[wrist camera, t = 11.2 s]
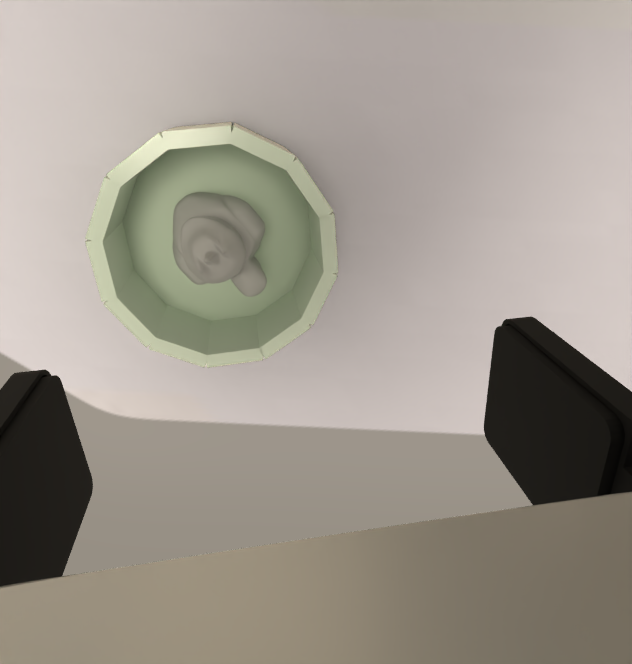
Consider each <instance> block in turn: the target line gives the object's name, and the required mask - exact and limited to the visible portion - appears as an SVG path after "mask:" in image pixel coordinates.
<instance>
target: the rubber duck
mask: <svg viewBox="0 0 632 664" xmlns="http://www.w3.org/2000/svg"><path fill="white" fill-rule="evenodd" d="M264 233H265V223H264V221H263V220H262V218H261V217H260V216H259V215H258V214H257V213H256V211H255V210H254V209H253V208H252V207H251V206H250V205H249V204H248V203H247V202H246V201H244V200H242V199H240V198H237V197H234V196H230V195H220V194H216V193H208V192H196V193H191V194H188V195H186V196H185V197H184V198H182V199H181V200H180V201H179V202H178V203H177V205H176V206H175V209H174V213H173V247H172V248H173V254H174V258H175V262H176V264H177V266H178V268H179V269H180V270H181V271H182V272H183V273H184V274H185V275H186V276H187V277H188V278H189V279H190V280H191V281H192V282H193V283H195V284H197V285H203V284H207V283H211V284H214V283H221V282H225V281H227V280H229V279H231V280H232V282H233V283H234V285H235V286H236V287H237V288H238V290H239V291H240V292H241V293H242V294H243V295H245V296H247V297H253V296H256V295H258V294H260V293H261V292H262V291H263V290H264V288H265V287H266V283H267V278H266V275H265V273H264V271H263V270H262V268H261V265H260V263H259V261H258V260H257V259H256V258H255V257H254V255H255V253H256V251H257V250H258V248H259V247H260V243H261V240H262V238H263V236H264Z"/></svg>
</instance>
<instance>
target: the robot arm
mask: <svg viewBox="0 0 632 664" xmlns="http://www.w3.org/2000/svg"><path fill="white" fill-rule="evenodd" d="M484 432H485V436H486V438H487V441H488V443H489V444H490V445H491V447H492V448H493V449H494V451H495V452H496V454H497V455H498V457H499V458H500V459H501V461H502V462H503V464H504V465H505V466H506V468H507V469H508V470H509V472H510V473H511V475H512V476H513V478H514V479H515V480H516V482H517V483H518V485H519V486H520V487H521V489H522V490H523V491H524V493H525V494H526V496H527V497H528V499H529V500H530V501H531V503H532V504H533V505H532V506H526V507H518V508H511V509H504V510H497V511H490V512H484V513H476V514H470V515H463V516H456V517H449V518H443V519H436V520H429V521H422V522H415V523H409V524H401V525H395V526H388V527H381V528H374V529H368V530H361V531H354V532H347V533H341V534H334V535H328V536H321V537H314V538H308V539H301V540H295V541H288V542H282V543H275V544H269V545H262V546H255V547H249V548H242V549H235V550H229V551H222V552H216V553H209V554H202V555H196V556H189V557H184V558H176V559H170V560H164V561H158V562H152V563H145V564H138V565H132V566H125V567H119V568H112V569H106V570H99V571H93V572H86V573H80V574H74V575H67V576H62V575H63V572H64V569H65V566H66V564H67V561H68V558H69V556H70V553H71V550H72V547H73V544H74V542H75V539H76V536H77V533H78V531H79V528H80V525H81V523H82V520H83V517H84V514H85V512H86V509H87V506H88V503H89V501H90V498H91V495H92V489H93V483H92V476H91V473H90V470H89V467H88V464H87V461H86V458H85V454H84V451H83V448H82V445H81V442H80V439H79V435H78V432H77V429H76V426H75V423H74V420H73V417H72V413H71V411H70V407H69V404H68V401H67V398H66V395H65V391H64V388H63V385H62V382H61V380H60V378H59V377H58V376H51V374H50V373H49V372H48V371H47V370H38V371H29V372H19V373H14V374H13V375H12V376H11V377H10V378H9V379H8V381H7V382H6V383H5V385H4V386H3V387H2V388H1V390H0V664H632V392H631V391H630V390H629V389H627V388H626V387H625V386H623V385H622V384H621V383H619V382H618V381H617V380H615V379H614V378H613V377H611V376H610V375H609V374H608V373H606V372H605V371H604V370H602V369H601V368H600V367H598V366H597V365H596V364H594V363H593V362H592V361H590V360H589V359H588V358H586V357H585V356H584V355H583V354H581V353H580V352H579V351H577V350H576V349H575V348H573V347H572V346H571V345H569V344H568V343H567V342H565V341H564V340H563V339H562V338H560V337H559V336H558V335H556V334H555V333H554V332H552V331H551V330H550V329H548V328H547V327H546V326H544V325H543V324H542V323H541V322H539V321H538V320H537V319H535V318H533V317H523V318H514V319H506V320H505V321H504V322H503V324H502V326H499V327H497V328H496V330H495V334H494V342H493V351H492V359H491V368H490V377H489V385H488V394H487V403H486V412H485V420H484Z"/></svg>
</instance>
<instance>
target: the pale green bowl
mask: <svg viewBox="0 0 632 664" xmlns="http://www.w3.org/2000/svg"><path fill="white" fill-rule="evenodd" d="M106 175H107V176H106V177H104V179H103V183H102V186H101V189H100V192H99V196H98V199H97V202H96V205H95V209H94V212H93V215H92V218H91V221H90V225H89V228H88V231H87V234H86V238H85V239H88V240H87V241H86V242H85V243H86V246H87V250H88V254H89V257H90V261H91V265H92V268H93V272H94V275H95V279H96V283H97V286H98V290H99V293H100V297H101V301H102V302H103V301H105V303H104V304H103V305H104V306H105V307H106V308H107V309H108V310H109V311H110V312H111V313H112V314H113V315H114V316H115V317H116V318H117V319H118V320H119V321H120V322H121V323H122V324H123V325H124V326H125V327H126V328H127V329H128V330H129V331H130V332H131V333H132V334H133V335H134V336H135V337H136V338H137V339H138V340H139V341H140V342H141V343H142V344H143V345H144V346H145V347H148V346H149V345H150V344H151V345H150V347H149V349H150V350H153V351H156V352H159V353H162V354H165V355H168V356H171V357H174V358H177V359H180V360H183V361H186V362H189V363H192V364H195V365H198V366H201V367H205V365H206V363H207V368H210V367H217V366H224V365H231V364H239V363H246V362H253V361H260V360H263V356H264V357H265V358H266V359H267V358H268V357H270V356H271V355H273V354H274V353H275V352H277V351H278V350H280V349H281V348H283V347H284V346H285V345H287V344H288V343H290V342H291V341H293V340H294V339H295V338H297V337H298V336H300V335H301V334H303V333H304V332H305V331H307V330H308V329H310V328H311V326H310V324H311V325H313V324H314V322H315V320H316V318H317V316H318V314H319V312H320V310H321V308H322V306H323V304H324V302H325V300H326V298H327V296H328V294H329V292H330V290H331V288H332V286H333V284H334V282H335V280H336V278H337V274H336V273H338V262H337V246H336V231H335V215H334V213H333V210H332V208H331V207H330V205H329V204H328V202H327V201H326V199H325V198H324V196H323V195H322V193H321V192H320V190H319V189H318V187H317V186H316V184H315V183H314V181H313V180H312V178H311V177H310V175H309V174H308V172H307V171H306V169H305V168H304V166H303V165H302V164H301V162H300V161H299V159H298V158H297V157H296V156H295V155H294V154H292V153H291V152H290V151H289V150H288V149H286V148H285V147H284V146H281V145H279V144H277V143H275V142H273V141H271V140H269V139H267V138H265V137H263V136H261V135H259V134H257V133H255V132H253V131H251V130H249V129H247V128H245V127H243V126H241V125H239V124H237V123H234V125H233V126H232V123H231V122H225V123H214V124H203V125H191V126H180V127H174V128H171V129H168V130H165V131H162V132H160V133H158V134H157V135H155V136H154V137H153V138H151V139H150V140H149V141H148V142H146V143H145V144H144V145H143V146H141V147H140V148H139V149H138V150H136V151H135V152H134V153H133V154H131V155H130V156H129V157H128V158H126V159H125V160H124V161H123V162H121V163H120V164H119V165H117V166H116V167H115V168H114V169H112V170H111V171H110V172H109V173H107V174H106ZM196 192H208V193H216V194H220V195H230V196H234V197H237V198H240V199H242V200H244V201H246V202H247V203H248V204H249V205H250V206H251V207H252V208H253V209H254V210H255V211H256V213H257V214H258V215H259V216H260V217H261V218H262V220H263V221H264V223H265V233H264V236H263V238H262V240H261V243H260V247H259V248H258V250H257V251H256V253H255V255H254V257H255V258H256V259H257V260H258V261H259V263H260V265H261V268H262V270H263V271H264V273H265V275H266V278H267V283H266V287H265V288H264V290H263V291H262V292H261V293H260V294H258V295H256V296H253V297H247V296H245V295H243V294H242V293H241V292H240V291H239V290H238V288H237V287H236V286H235V285H234V283H233V282H232V280H231V279H229V280H227V281H225V282H221V283H214V284H211V283H207V284H203V285H197V284H195V283H193V282H192V281H191V280H190V279H189V278H188V277H187V276H186V275H185V274H184V273H183V272H182V271H181V270H180V269H179V268H178V266H177V264H176V262H175V258H174V254H173V248H172V247H173V213H174V209H175V206H176V205H177V203H178V202H179V201H180V200H181V199H182V198H184V197H185V196H186V195H188V194H191V193H196Z"/></svg>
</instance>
